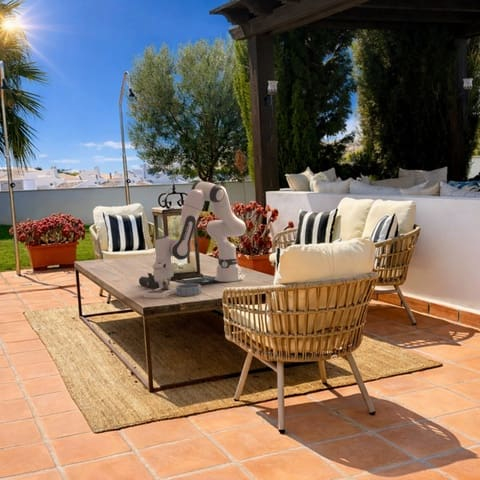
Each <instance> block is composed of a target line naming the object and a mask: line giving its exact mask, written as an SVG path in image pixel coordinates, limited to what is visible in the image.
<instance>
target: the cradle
mask: <svg viewBox="0 0 480 480" xmlns="http://www.w3.org/2000/svg"><path fill="white" fill-rule="evenodd" d="M175 293H176V287H168V291H163V290H161V288H158V289H156V288H154V289H153V290H148V291H146V292H144V293H143V296H144V298H148V299H149V298H150V299H153V298H156V299H164V298H167V297H169V296H170V295H172V294H175Z"/></svg>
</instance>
